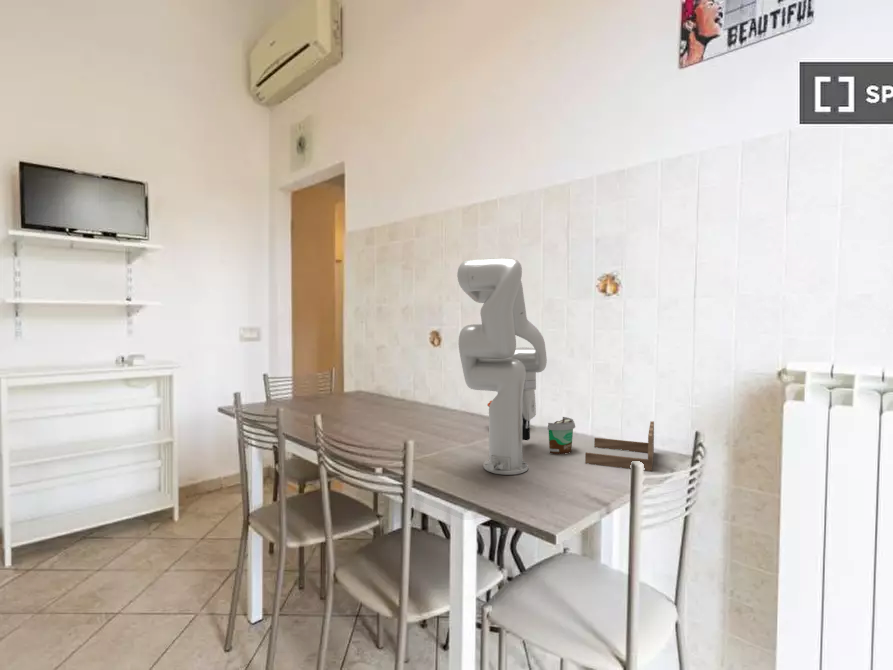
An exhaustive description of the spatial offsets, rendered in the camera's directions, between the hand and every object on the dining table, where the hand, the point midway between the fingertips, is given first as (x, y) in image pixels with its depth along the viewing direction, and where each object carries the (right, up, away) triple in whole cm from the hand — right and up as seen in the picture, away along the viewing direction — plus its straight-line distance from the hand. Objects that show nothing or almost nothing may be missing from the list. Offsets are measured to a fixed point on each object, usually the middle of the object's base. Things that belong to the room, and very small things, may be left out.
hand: (524, 439), depth 157 cm
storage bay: (+26, -3, -12) cm, 29 cm away
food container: (+12, -3, -6) cm, 13 cm away
